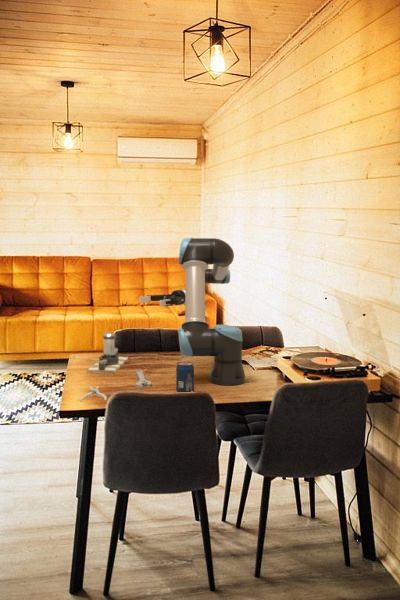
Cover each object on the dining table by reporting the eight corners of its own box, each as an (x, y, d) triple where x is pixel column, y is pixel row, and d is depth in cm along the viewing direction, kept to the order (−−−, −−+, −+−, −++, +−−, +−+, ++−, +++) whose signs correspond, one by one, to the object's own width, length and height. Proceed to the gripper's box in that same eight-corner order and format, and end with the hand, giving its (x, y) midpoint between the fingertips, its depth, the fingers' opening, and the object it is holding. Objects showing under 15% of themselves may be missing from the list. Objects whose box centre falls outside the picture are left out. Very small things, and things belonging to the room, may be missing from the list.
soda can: (181, 389, 231) (182, 360, 229) (197, 392, 227) (197, 362, 226) (172, 394, 225) (173, 364, 223) (188, 396, 221) (188, 366, 220)
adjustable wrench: (135, 372, 256) (135, 368, 256) (149, 372, 257) (149, 368, 256) (136, 389, 231) (136, 385, 231) (152, 389, 232) (152, 384, 232)
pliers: (79, 398, 214) (81, 386, 229) (79, 402, 215) (81, 390, 229) (106, 397, 216) (106, 385, 230) (106, 401, 216) (106, 389, 231)
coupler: (113, 364, 263) (112, 334, 260) (101, 364, 263) (101, 334, 261) (116, 362, 268) (115, 332, 266) (105, 361, 268) (104, 332, 266)
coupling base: (113, 373, 252) (113, 361, 251) (87, 372, 254) (87, 360, 253) (128, 358, 278) (128, 348, 277) (104, 357, 279) (104, 347, 278)
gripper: (199, 307, 282) (168, 312, 266) (163, 301, 298) (132, 306, 282) (199, 292, 280) (168, 296, 265) (163, 287, 297) (132, 291, 281)
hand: (149, 301), depth 273 cm, fingers open, 13 cm apart
